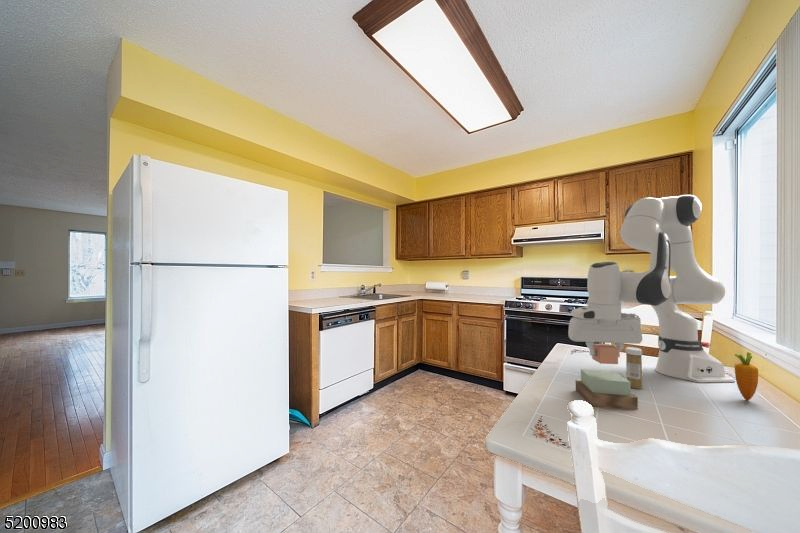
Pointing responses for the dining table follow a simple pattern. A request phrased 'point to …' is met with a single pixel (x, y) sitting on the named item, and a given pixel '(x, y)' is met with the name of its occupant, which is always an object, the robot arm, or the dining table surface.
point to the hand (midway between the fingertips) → (604, 356)
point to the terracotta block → (605, 354)
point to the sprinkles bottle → (634, 367)
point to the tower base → (606, 398)
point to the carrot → (746, 376)
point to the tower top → (605, 382)
